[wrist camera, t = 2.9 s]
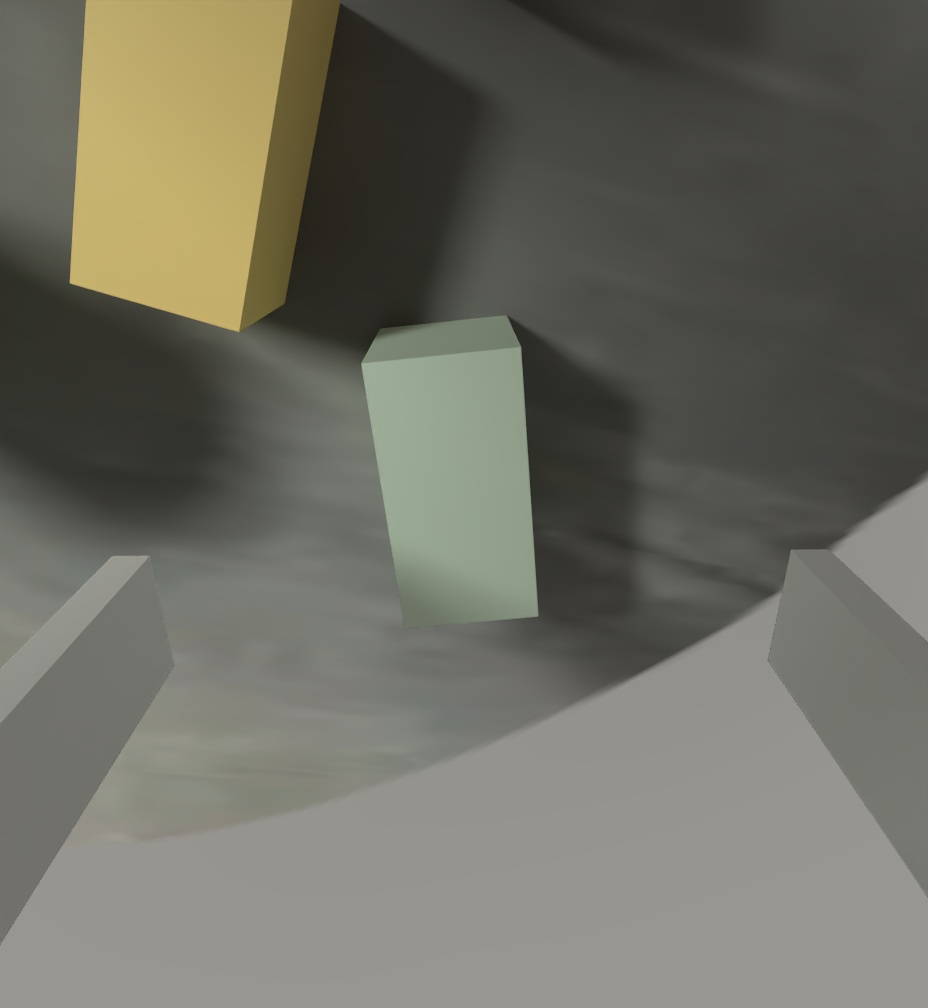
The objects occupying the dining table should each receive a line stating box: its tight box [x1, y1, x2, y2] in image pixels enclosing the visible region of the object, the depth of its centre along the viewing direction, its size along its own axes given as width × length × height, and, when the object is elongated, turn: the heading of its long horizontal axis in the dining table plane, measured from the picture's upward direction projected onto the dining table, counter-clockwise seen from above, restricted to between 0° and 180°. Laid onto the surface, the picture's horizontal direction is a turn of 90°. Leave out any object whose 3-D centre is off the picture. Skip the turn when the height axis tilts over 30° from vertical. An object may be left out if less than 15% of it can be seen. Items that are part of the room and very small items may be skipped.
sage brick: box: [361, 315, 538, 629], centre depth 21 cm, size 8×4×5 cm, turn 6°
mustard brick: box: [70, 0, 340, 332], centre depth 17 cm, size 8×4×5 cm, turn 163°
